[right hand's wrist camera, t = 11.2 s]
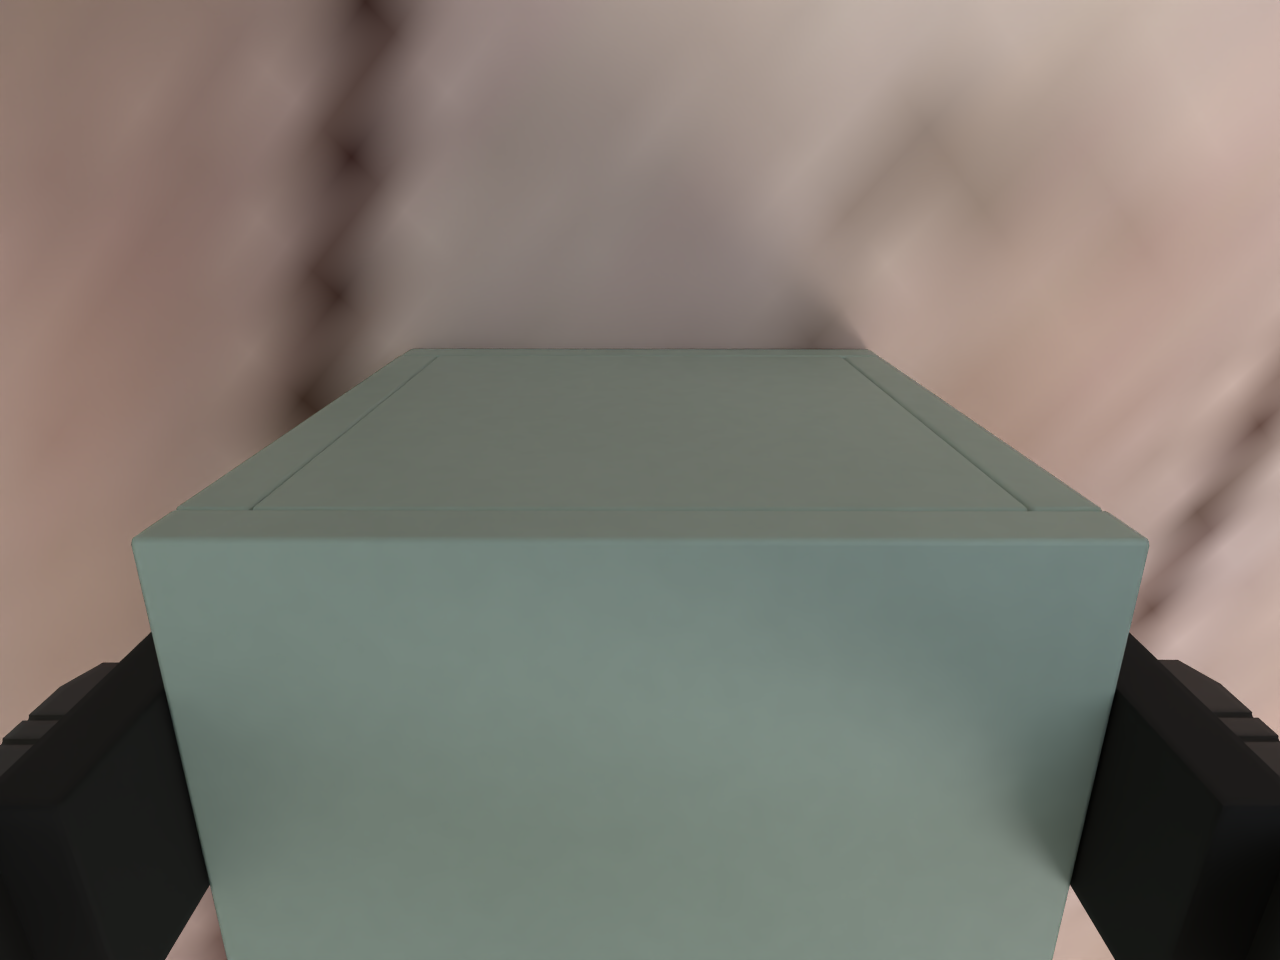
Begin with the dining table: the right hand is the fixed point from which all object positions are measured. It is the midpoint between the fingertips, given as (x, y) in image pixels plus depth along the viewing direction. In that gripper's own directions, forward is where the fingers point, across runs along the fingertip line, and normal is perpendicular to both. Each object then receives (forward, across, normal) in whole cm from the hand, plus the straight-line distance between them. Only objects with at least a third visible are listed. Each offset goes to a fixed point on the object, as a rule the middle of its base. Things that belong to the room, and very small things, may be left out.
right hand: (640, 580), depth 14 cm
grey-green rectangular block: (+5, 0, -6) cm, 8 cm away
